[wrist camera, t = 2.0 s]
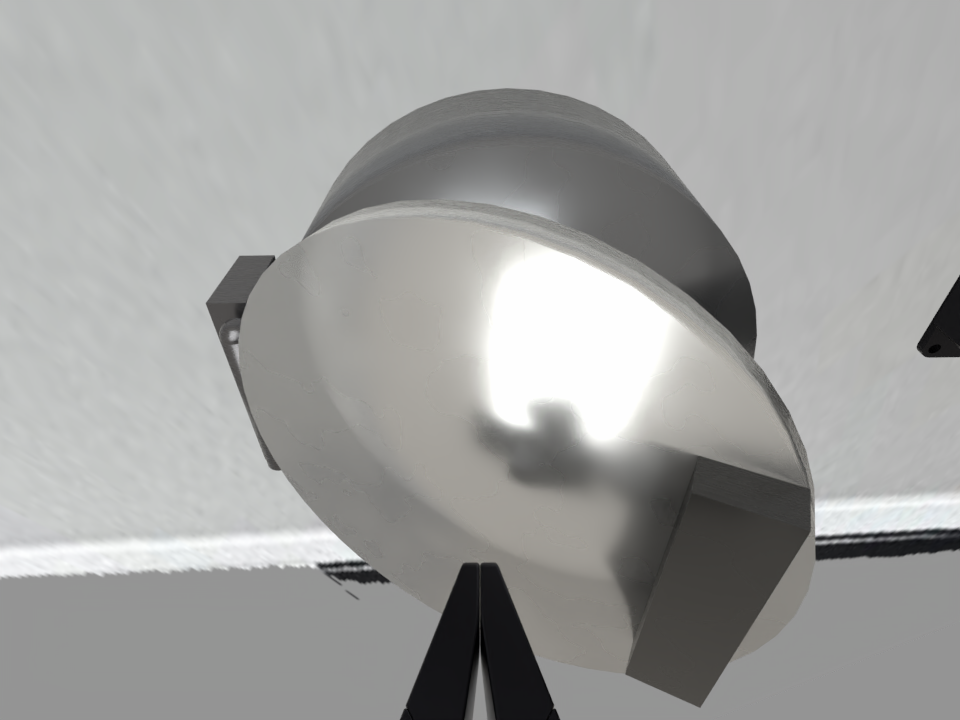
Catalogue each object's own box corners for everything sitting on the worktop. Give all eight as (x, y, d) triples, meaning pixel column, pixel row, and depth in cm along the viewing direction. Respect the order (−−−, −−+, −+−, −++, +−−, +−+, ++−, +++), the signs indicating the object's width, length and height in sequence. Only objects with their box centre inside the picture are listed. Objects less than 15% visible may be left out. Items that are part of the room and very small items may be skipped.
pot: (747, 85, 18) (841, 141, 14) (656, 424, 28) (691, 524, 24) (231, 91, 18) (146, 150, 14) (322, 428, 28) (292, 528, 24)
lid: (983, 289, 8) (1022, 369, 7) (710, 706, 18) (702, 773, 17) (177, 149, 14) (104, 176, 12) (309, 528, 24) (277, 567, 22)
